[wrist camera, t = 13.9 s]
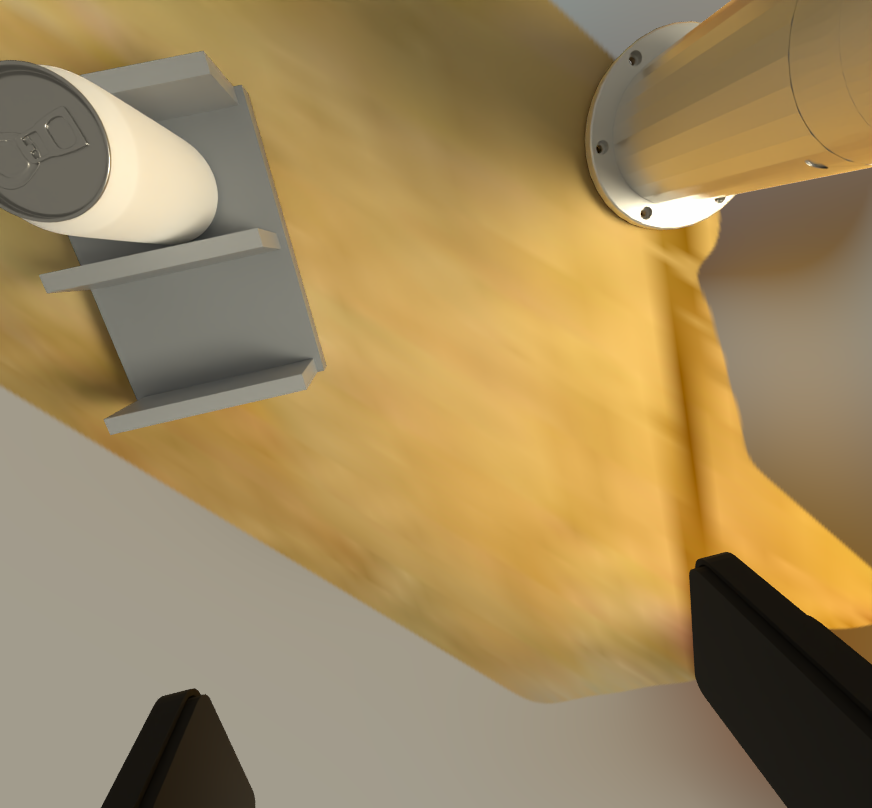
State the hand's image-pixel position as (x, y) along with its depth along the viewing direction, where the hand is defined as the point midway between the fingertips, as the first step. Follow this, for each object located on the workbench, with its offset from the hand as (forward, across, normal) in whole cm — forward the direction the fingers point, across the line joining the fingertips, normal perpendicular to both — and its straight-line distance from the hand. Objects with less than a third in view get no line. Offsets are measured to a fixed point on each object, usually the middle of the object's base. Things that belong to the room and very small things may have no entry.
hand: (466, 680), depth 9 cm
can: (+27, +12, -15) cm, 33 cm away
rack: (+28, +12, -10) cm, 32 cm away
